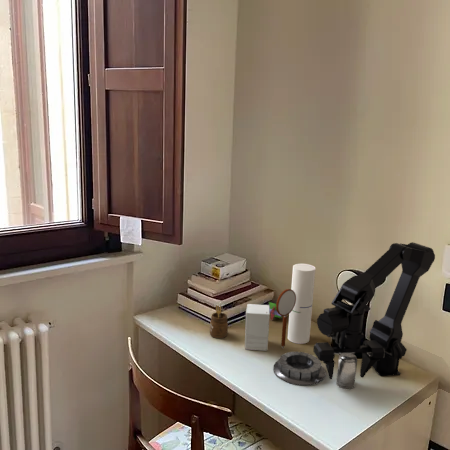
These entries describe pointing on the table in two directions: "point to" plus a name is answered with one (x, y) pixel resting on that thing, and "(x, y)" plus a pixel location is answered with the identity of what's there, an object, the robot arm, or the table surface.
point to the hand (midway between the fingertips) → (346, 377)
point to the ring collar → (299, 369)
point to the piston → (346, 371)
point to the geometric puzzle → (273, 310)
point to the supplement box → (257, 327)
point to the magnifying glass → (285, 309)
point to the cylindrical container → (301, 303)
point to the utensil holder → (218, 324)
